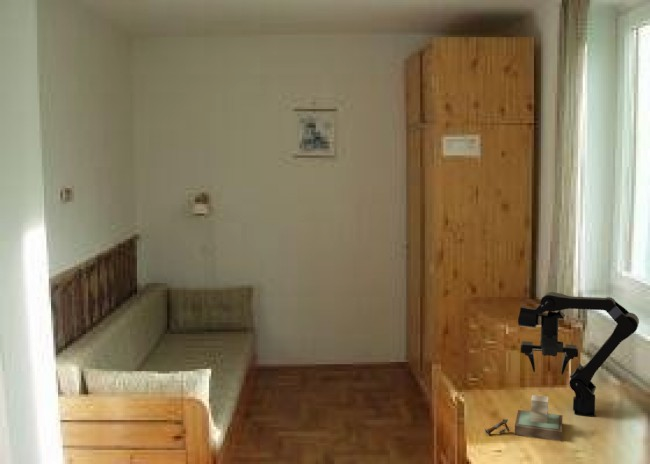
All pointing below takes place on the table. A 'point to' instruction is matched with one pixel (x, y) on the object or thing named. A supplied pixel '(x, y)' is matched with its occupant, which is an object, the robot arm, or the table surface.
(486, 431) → the grey brown jointed piece
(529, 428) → the brown and green tray
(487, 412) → the table surface
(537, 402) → the maple block
